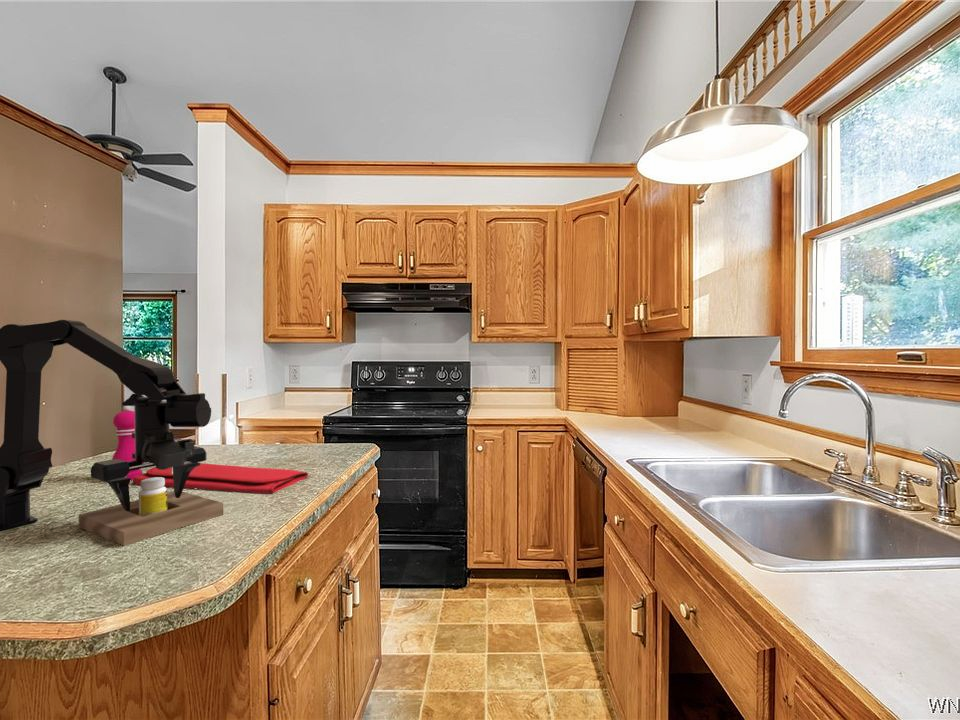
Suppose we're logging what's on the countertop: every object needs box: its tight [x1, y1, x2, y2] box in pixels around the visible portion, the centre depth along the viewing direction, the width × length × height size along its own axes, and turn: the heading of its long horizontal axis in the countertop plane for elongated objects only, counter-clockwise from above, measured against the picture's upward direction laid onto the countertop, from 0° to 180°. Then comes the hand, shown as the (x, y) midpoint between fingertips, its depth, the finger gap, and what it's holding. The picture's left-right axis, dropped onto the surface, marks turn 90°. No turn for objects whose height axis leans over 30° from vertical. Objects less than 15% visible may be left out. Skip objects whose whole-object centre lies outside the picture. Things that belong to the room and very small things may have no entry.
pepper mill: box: [111, 406, 144, 481], centre depth 125 cm, size 7×7×20 cm
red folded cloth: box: [132, 462, 309, 495], centre depth 122 cm, size 16×41×4 cm, turn 78°
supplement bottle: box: [138, 477, 168, 517], centre depth 94 cm, size 5×5×8 cm
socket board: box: [78, 490, 224, 547], centre depth 94 cm, size 18×18×2 cm
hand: (153, 504), depth 94 cm, fingers open, 9 cm apart
